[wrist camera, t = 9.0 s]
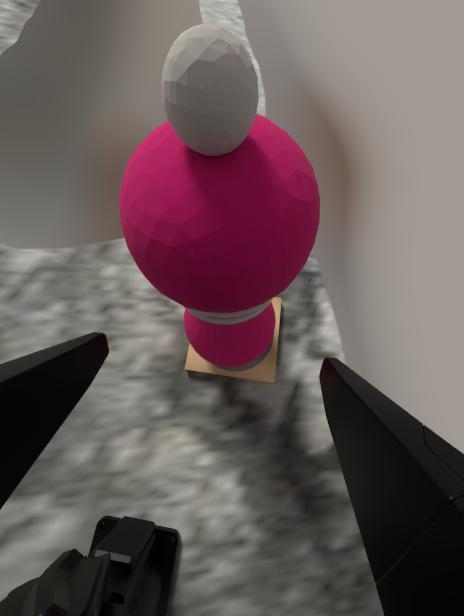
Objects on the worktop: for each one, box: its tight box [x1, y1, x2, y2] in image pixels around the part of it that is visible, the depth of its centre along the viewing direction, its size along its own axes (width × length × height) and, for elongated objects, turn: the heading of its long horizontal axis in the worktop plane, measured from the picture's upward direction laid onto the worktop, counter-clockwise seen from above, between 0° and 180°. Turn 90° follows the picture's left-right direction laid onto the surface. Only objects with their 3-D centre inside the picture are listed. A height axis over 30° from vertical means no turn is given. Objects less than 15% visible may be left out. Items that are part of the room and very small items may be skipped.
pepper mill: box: [119, 23, 320, 367], centre depth 13 cm, size 7×7×20 cm
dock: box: [185, 297, 281, 383], centre depth 23 cm, size 8×8×1 cm
